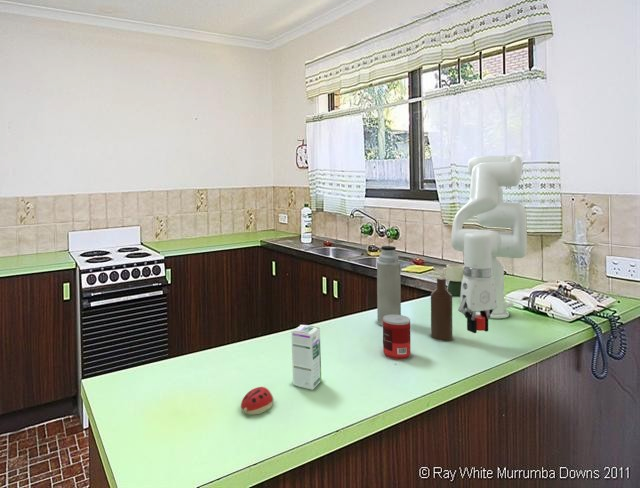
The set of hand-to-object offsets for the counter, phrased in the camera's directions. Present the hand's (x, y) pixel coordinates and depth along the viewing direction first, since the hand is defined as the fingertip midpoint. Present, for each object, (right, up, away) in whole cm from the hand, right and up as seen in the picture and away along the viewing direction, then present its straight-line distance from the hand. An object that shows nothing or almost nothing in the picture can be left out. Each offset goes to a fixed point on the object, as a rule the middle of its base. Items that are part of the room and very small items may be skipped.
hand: (477, 330), depth 137 cm
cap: (0, +1, 0) cm, 1 cm away
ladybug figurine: (-70, -7, -33) cm, 78 cm away
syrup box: (-57, -7, -22) cm, 61 cm away
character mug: (+21, -3, +56) cm, 60 cm away
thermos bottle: (-20, -5, +22) cm, 30 cm away
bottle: (-8, -5, +8) cm, 12 cm away
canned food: (-27, -6, -5) cm, 28 cm away
